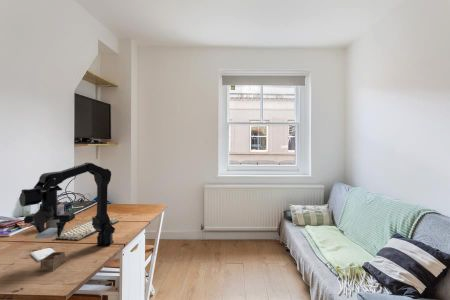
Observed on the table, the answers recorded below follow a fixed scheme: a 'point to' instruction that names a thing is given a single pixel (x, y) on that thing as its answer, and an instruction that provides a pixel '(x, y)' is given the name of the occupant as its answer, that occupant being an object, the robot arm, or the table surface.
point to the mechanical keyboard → (81, 231)
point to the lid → (47, 233)
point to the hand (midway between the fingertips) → (50, 237)
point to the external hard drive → (42, 253)
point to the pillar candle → (53, 222)
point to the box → (52, 261)
